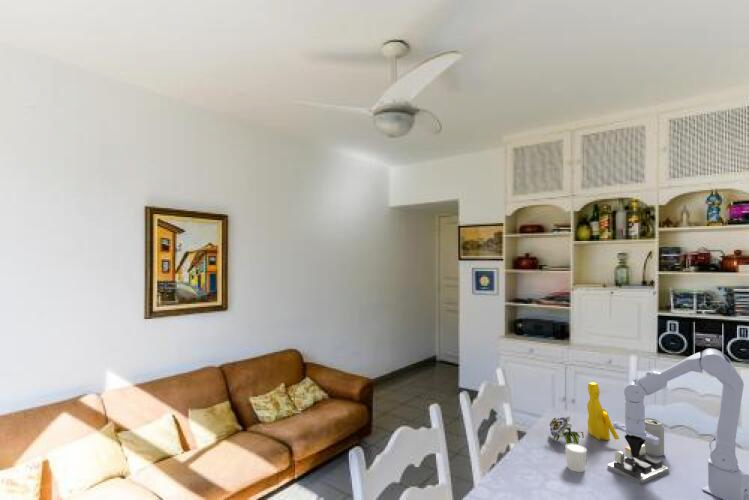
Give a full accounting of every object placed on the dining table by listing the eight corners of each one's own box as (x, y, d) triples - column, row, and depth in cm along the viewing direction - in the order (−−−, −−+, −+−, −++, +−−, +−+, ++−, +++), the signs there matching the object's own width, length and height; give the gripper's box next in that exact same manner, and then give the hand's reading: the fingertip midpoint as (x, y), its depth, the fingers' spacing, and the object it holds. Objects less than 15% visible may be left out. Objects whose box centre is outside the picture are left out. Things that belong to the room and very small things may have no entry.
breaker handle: (634, 457, 141) (634, 448, 141) (631, 459, 140) (630, 450, 140) (628, 455, 143) (628, 446, 143) (625, 456, 142) (625, 447, 142)
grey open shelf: (668, 472, 137) (668, 453, 137) (640, 485, 131) (639, 465, 130) (635, 457, 147) (635, 439, 147) (607, 468, 140) (607, 450, 140)
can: (668, 458, 146) (668, 425, 146) (645, 456, 148) (645, 424, 148) (658, 448, 154) (658, 417, 154) (636, 446, 155) (636, 415, 155)
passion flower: (554, 454, 161) (542, 422, 168) (581, 448, 162) (567, 417, 168) (562, 449, 152) (549, 416, 159) (590, 443, 152) (576, 411, 159)
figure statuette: (623, 447, 155) (623, 390, 155) (604, 448, 154) (604, 391, 154) (593, 426, 173) (593, 375, 173) (576, 428, 172) (575, 376, 172)
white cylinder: (575, 474, 137) (575, 453, 137) (560, 464, 144) (560, 444, 144) (591, 471, 139) (591, 450, 139) (576, 461, 146) (576, 441, 146)
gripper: (607, 412, 144) (608, 450, 144) (650, 428, 131) (650, 469, 131) (619, 408, 147) (620, 445, 147) (662, 423, 134) (663, 464, 134)
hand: (635, 456), depth 140 cm, fingers closed
